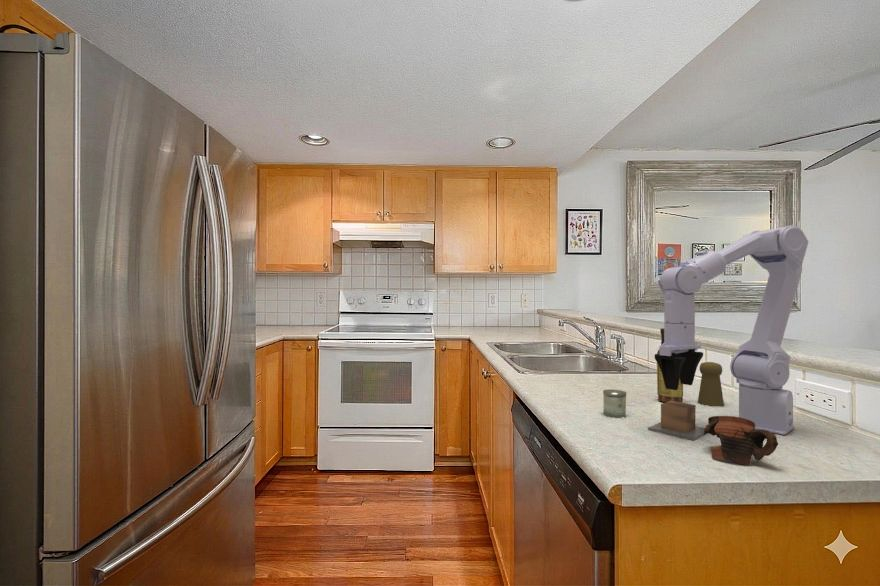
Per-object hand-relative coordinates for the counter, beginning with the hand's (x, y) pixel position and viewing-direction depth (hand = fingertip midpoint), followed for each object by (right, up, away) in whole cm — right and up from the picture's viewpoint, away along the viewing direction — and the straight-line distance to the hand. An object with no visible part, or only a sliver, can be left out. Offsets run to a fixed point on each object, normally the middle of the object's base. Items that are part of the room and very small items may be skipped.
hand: (679, 386), depth 93 cm
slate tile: (0, -9, 0) cm, 9 cm away
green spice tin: (-9, -9, +12) cm, 18 cm away
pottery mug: (+2, -10, -15) cm, 18 cm away
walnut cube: (0, -9, 0) cm, 9 cm away
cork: (+21, -10, +23) cm, 33 cm away
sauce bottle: (+11, -10, +25) cm, 29 cm away
